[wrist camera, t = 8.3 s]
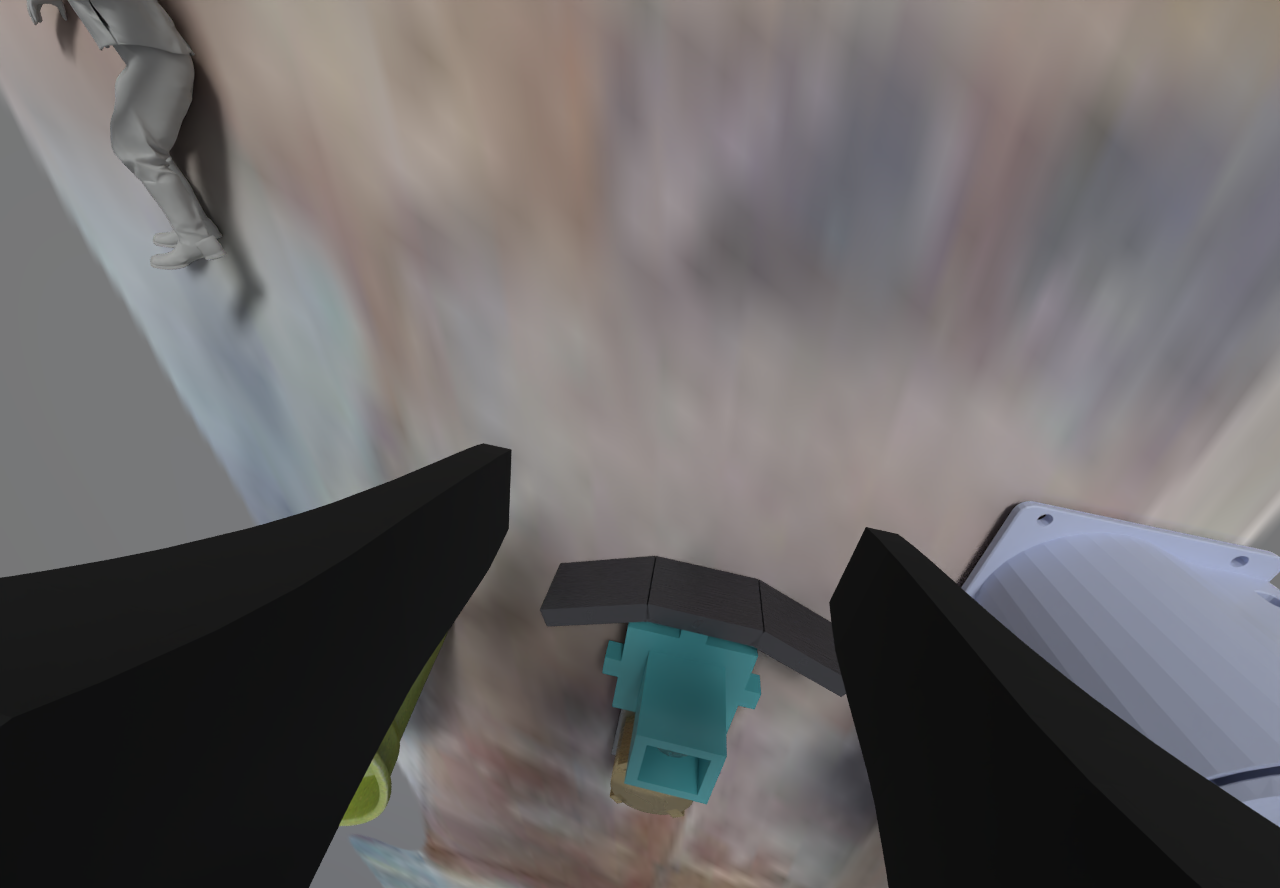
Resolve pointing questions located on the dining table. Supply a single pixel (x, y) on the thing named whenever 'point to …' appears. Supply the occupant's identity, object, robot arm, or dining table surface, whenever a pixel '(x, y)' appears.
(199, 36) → the dining table surface
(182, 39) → the soldier figure
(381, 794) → the plant pot
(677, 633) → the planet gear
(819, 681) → the carrier
